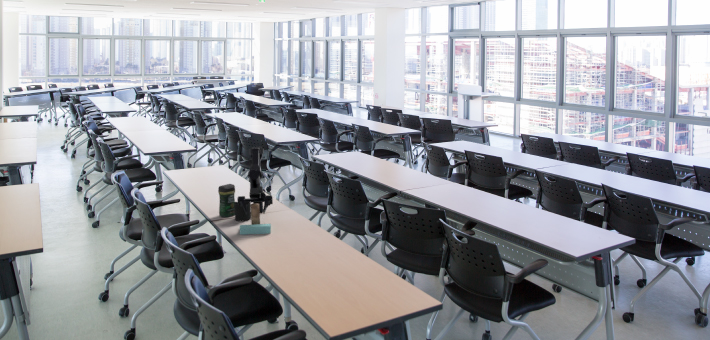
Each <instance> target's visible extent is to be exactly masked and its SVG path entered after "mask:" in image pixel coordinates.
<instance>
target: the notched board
mask: <svg viewBox="0 0 710 340" xmlns="http://www.w3.org/2000/svg"><path fill="white" fill-rule="evenodd" d="M271 232H272V224H271V223H260V224H254V225H252V224H240V225H239V235H244V236H245V235H258V234H259V235H261V234H264V235H265V234H271Z"/></svg>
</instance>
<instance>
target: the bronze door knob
mask: <svg viewBox="0 0 710 340" xmlns="http://www.w3.org/2000/svg"><path fill="white" fill-rule="evenodd" d="M260 215H261V214H260V209H259V204H258V203H253V202H252V203H251V218H250V220H251V221H250V225H254V224H261V216H260Z"/></svg>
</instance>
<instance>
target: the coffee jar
mask: <svg viewBox="0 0 710 340" xmlns="http://www.w3.org/2000/svg"><path fill="white" fill-rule="evenodd" d="M217 191H218V195H219V208H218V214H219V216H220V217H222V218H224V217H225V218H229V217H232V216H235V211H234V202H236V201H235V200H236V199H235V194H236V186H235V184H232V183H226V184H223V185H219V186H218V190H217Z"/></svg>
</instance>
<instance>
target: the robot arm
mask: <svg viewBox="0 0 710 340" xmlns="http://www.w3.org/2000/svg"><path fill="white" fill-rule="evenodd" d="M264 150H265V149H264V148H263V147H262V146H251V147H250V148H249V149H248V153H249V154H248V155H250V158H251V166H250V167H249V171H248V172H247V178H248V179H249V198H246V196H245V195H241V196H237V197H236V199H237V201H236V202H238V205H240V206H241V207H243V208H244V210H245V213H246V215H247V209H246V202H251V204H253V203H258V204H259V209H260V213H262V214H263V215H265V214H266V211H267V209H268V207H269V206H271V205H273V200H274V199H273V198H274V197H273V195H269V194H266V192H264V188H263V186H262V185H261V183H262V182H261V181H262V180H261V179H262V178H263V177H264V173H263V170H262V169H261V168H262V167H261V161H262V159H263V157H264V156H263V155H264V154H265V153H264Z"/></svg>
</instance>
